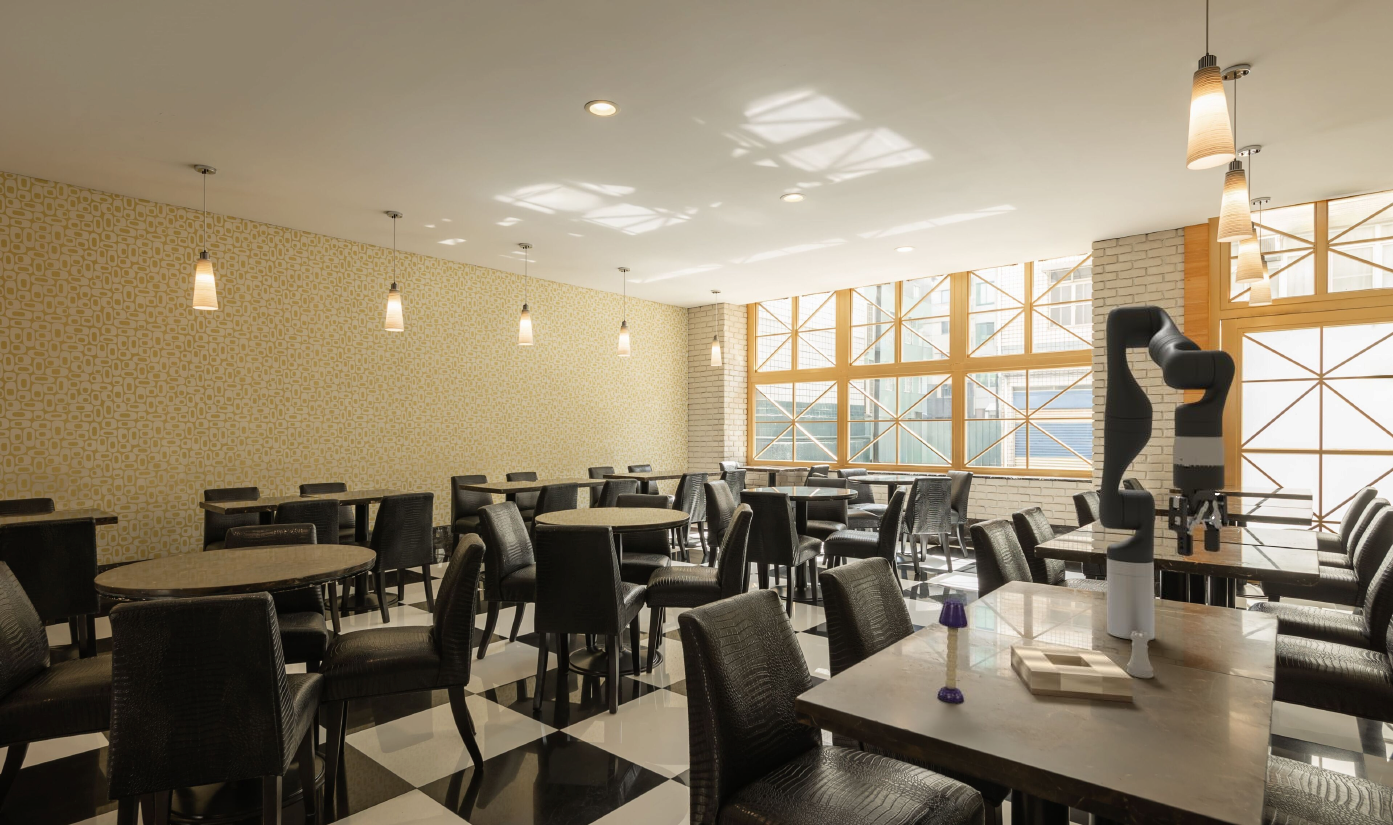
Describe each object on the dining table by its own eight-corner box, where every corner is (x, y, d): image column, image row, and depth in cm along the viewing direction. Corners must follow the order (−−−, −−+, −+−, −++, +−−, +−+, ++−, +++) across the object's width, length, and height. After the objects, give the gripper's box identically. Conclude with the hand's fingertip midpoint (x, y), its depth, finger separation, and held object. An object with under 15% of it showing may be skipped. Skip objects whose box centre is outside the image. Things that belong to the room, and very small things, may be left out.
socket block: (1010, 665, 140) (1010, 644, 140) (1099, 672, 136) (1099, 650, 137) (1031, 693, 124) (1031, 670, 124) (1132, 702, 121) (1132, 678, 121)
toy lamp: (967, 696, 122) (966, 599, 123) (967, 705, 118) (967, 604, 119) (937, 692, 124) (937, 596, 125) (937, 702, 120) (937, 602, 120)
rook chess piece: (1158, 680, 132) (1157, 636, 133) (1131, 678, 133) (1131, 635, 133) (1148, 672, 137) (1147, 630, 137) (1122, 670, 138) (1122, 628, 138)
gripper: (1197, 460, 133) (1198, 547, 133) (1152, 462, 126) (1153, 553, 126) (1243, 462, 126) (1244, 553, 126) (1198, 464, 120) (1199, 560, 120)
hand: (1198, 553), depth 126 cm, fingers open, 8 cm apart
